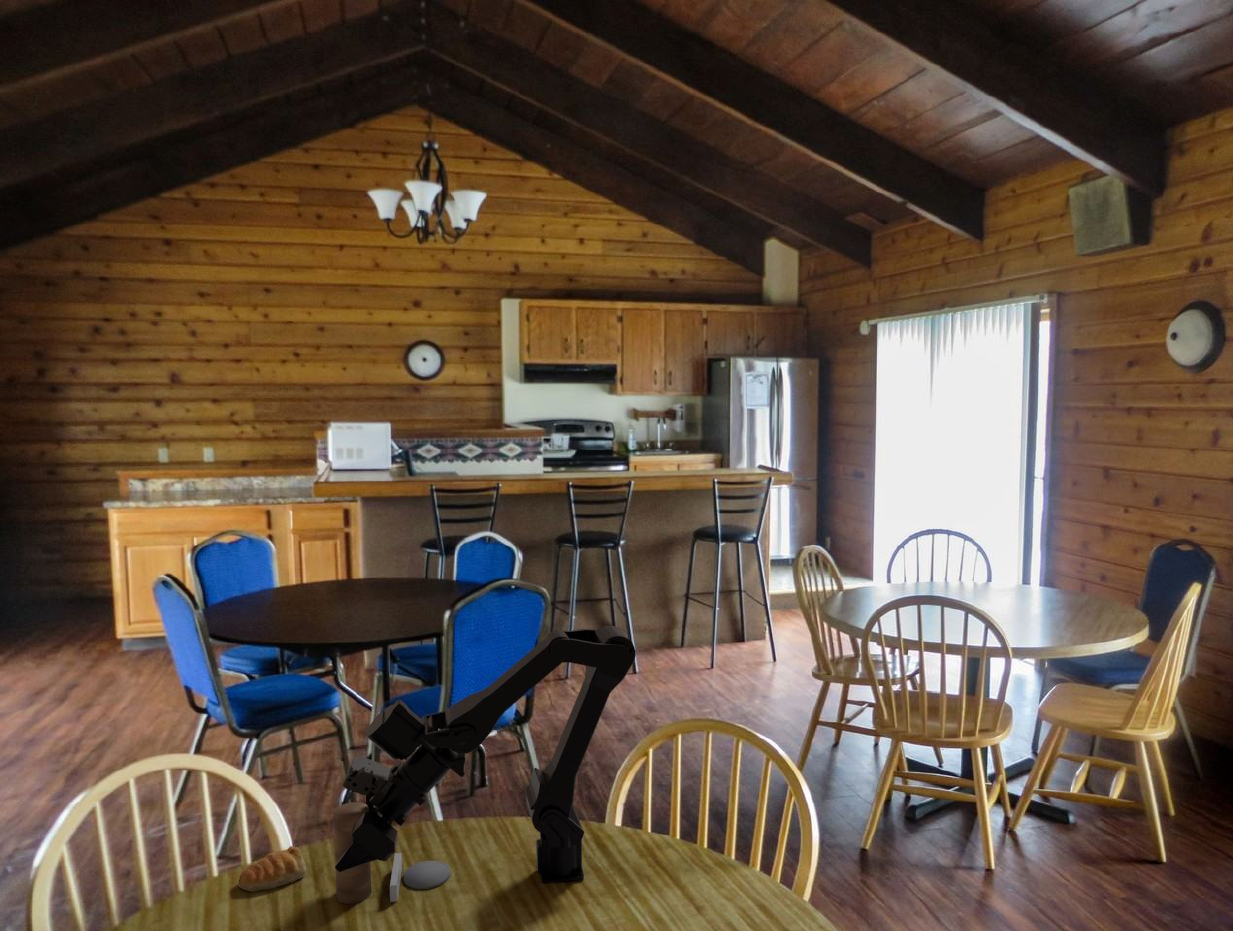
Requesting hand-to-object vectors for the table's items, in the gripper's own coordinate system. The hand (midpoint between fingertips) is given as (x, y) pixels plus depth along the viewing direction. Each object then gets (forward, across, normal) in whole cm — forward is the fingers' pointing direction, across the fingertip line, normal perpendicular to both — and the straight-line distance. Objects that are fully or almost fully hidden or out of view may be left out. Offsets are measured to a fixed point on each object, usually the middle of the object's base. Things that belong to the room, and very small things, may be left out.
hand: (342, 852), depth 130 cm
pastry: (+13, -6, -3) cm, 15 cm away
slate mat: (-4, -3, +13) cm, 14 cm away
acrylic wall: (0, -2, +10) cm, 10 cm away
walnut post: (+4, 0, +6) cm, 7 cm away
